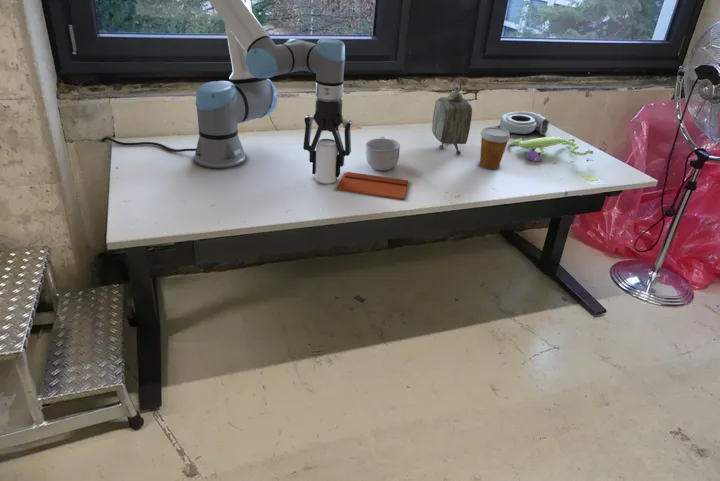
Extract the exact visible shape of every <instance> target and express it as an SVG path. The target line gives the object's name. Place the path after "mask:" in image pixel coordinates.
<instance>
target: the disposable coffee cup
mask: <svg viewBox="0 0 720 481" xmlns="http://www.w3.org/2000/svg"><path fill="white" fill-rule="evenodd" d="M510 134H511V133H510V132H508V131H507V130H505V129H501V128H500V127H496V126H495V127H494V126H487V127H484V128H483V129H482V130H481V132H480V136H481V139H480V140H481V141H480V158H479V166H480V167H482V168H484V169H486V170H487V169H488V170H498V169H499V167H500V164H501V162H502V159H503V156H504V154H505V150H506V147H507V145H508V142H510V139H511V135H510Z"/></svg>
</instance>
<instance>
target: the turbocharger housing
mask: <svg viewBox="0 0 720 481" xmlns="http://www.w3.org/2000/svg"><path fill="white" fill-rule="evenodd" d="M549 123H550V120H549V119H548V118H546V117H544V116H542V115H541V114H538V113H535V112H531V111H510V112H507V113H504V114H502V116H501V117H500V120H499V128H501V129H505V130H507V131H508V132H509V133H510V134H516V135H527V134H531V133H533V132H534V131H536V132H538V133H539V134H540V135H546V134H547V132H548V129H549V126H550V124H549Z"/></svg>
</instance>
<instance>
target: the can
mask: <svg viewBox="0 0 720 481" xmlns="http://www.w3.org/2000/svg"><path fill="white" fill-rule="evenodd" d="M315 150H316V172H315V174H314V176H315V178H314V179H315V180H316V182H318V183H320V184H325V185H330V184H333V183H335V182H336V181H337V177H336V159H337V155H338V154H339V153H338V149H337V146H336V143H335V139H332V138H321V139H319V140H318V143H317V145H316V148H315Z"/></svg>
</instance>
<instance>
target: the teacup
mask: <svg viewBox="0 0 720 481" xmlns="http://www.w3.org/2000/svg"><path fill="white" fill-rule="evenodd" d="M400 148H401V143H400V142H399V141H397V140H395V139H390V138H385V136H380V137H379V138H373V139H370V140H368V141H367V142H366V143H365V159H366V163H367V164H368V165H369V166H370V167H371V168H372V169H374V170H376V171H389V170H391V169H393V168H394V167H395V166H397V165H398V162H399V158H400Z"/></svg>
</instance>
